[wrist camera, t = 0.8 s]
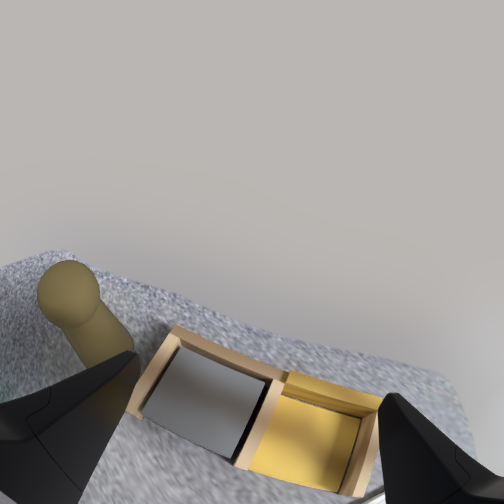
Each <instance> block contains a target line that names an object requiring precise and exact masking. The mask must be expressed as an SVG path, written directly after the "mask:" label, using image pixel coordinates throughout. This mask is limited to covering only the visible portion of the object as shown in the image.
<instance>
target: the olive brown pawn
mask: <svg viewBox="0 0 504 504" xmlns="http://www.w3.org/2000/svg"><path fill="white" fill-rule="evenodd" d="M37 300H38V304H39V307H40V310H41V311H42V313H43V314H44V316H45V317H46V318H47V319H48V320H49V322H51V323H53V324H54V325H56V326H58V327H60V328H62V330H63V332H64V334H65V335H66V337H67V339H68V340H69V342H70V344H71V345H72V347H73V348H74V350H75V352H76V353H77V355H78V356H79V358H80V359H81V361H82V362H83V364H84V365H85V366H86V368H87V369H88V368H90V367H92V366H94V365H97V364H99V363H101V362H103V361H105V360H107V359H109V358H111V357H113V356H115V355H117V354H119V353H121V352H124V351H126V350H131V351H134V344H133V339H132V337H131V335H130V334H129V332H128V331H127V330H126V328H125V327H124V326H123V325H122V324H121V323H120V322H119V320H118V319H117V318H116V317H115V316H114V315H113V313H112V312H111V311H110V310H109V309H108V307H107V306H106V305H105V304H104V302H103V301H102V300H101V299H100V289H99V284H98V282H97V280H96V278H95V275H94V273H93V272H92V271H91V270H90V269H89V268H88V267H87V266H86V265H85V264H83V263H80V262H77V261H75V260H65V261H61V262H58V263H57V264H55V265H53V266H51V267H50V268H49V269H48V270H47V271H46V272H45V273H44V275H43V276H42V277H41V279H40V282H39V284H38V290H37Z"/></svg>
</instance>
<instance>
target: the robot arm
mask: <svg viewBox="0 0 504 504" xmlns="http://www.w3.org/2000/svg"><path fill="white" fill-rule="evenodd" d="M139 375H140V360H139V354H138V353H137V352H134V351H131V350H126V351H124V352H121V353H119V354H117V355H115V356H113V357H111V358H109V359H107V360H105V361H103V362H101V363H99V364H97V365H94V366H92V367H90V368H88V369H86V370H84V371H82V372H80V373H77V374H75V375H73V376H71V377H69V378H67V379H65V380H62V381H60V382H58V383H56V384H54V385H52V386H49V387H47V388H44V389H42V390H40V391H37V392H35V393H32V394H30V395H27V396H24V397H21V398H17V399H14V400H11V401H7V402H4V403H0V504H78V502H79V500H80V498H81V496H82V494H83V493H82V492H84V489H85V487H86V485H87V483H88V481H89V479H90V477H91V475H92V473H93V471H94V469H95V467H96V465H97V463H98V461H99V459H100V458H101V456H102V454H103V452H104V450H105V448H106V446H107V444H108V442H109V440H110V438H111V436H112V434H113V433H114V431H115V429H116V427H117V425H118V423H119V421H120V419H121V418H122V416H123V414H124V412H125V410H126V408H127V406H128V403H129V401H130V398H131V395H132V393H133V390H134V388H135V385H136V383H137V380H138V378H139ZM377 414H378V433H379V449H380V456H381V464H382V472H383V481H384V490H385V502H386V504H504V477H500V476H498V475H495V474H494V473H492V472H491V471H490V470H488V469H487V468H485V467H484V466H483V465H481V464H480V463H478V462H477V461H476V460H474V459H473V458H472V457H470V456H469V455H468V454H467V453H465V452H464V451H463V450H462V449H461V448H460V447H458V446H457V445H455V443H454V442H453V441H452V440H450V439H449V438H448V437H447V436H446V435H445V434H444V433H443V432H441V431H440V430H439V429H438V428H437V427H436V426H435V425H434V424H433V423H431V422H430V421H429V420H428V419H427V418H426V417H425V416H424V415H422V414H421V413H420V412H419V411H418V410H417V409H416V408H415V407H414V406H412V405H411V404H410V403H409V402H408V401H407V400H406V399H405V398H404V397H402V396H401V395H400V394H399V393H388V394H387V395H386V396H385V398H384V400H383V401H382V403H381V404H380V406H379V408H378V412H377Z"/></svg>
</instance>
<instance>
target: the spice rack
mask: <svg viewBox="0 0 504 504" xmlns="http://www.w3.org/2000/svg"><path fill="white" fill-rule="evenodd" d="M263 387H264V388H267V389H268V390H267V392H266V395H265V397H264V399H263V402H262V404H261V406H260V409H259V411H258V413H257V415H256V418H255V420H254V422H253V424H252V426H251V429H250V431H249V433H248V435H247V437H246V439H245V441H244V444H243V446H242V448H241V450H240V452H239V454H238V456H237V458H236V460H235V462H234V464H233V466H234V467H237V468H240V469H242V470H245V471H247V470H248V469H249V470H252V471H255V472H257V473H260V474H264V475H267V476H270V477H273V478H277V479H280V480H284V481H287V482H291V483H295V484H299V485H303V486H307V487H312V488H317V489H322V490H327V491H332V492H338V489H339V487H340V484H341V482H342V479H343V476H344V473H345V470H346V467H347V464H348V461H349V458H350V455H351V452H352V449H353V446H354V442H355V439H356V435H357V432H358V428H359V424H360V421H361V419H359V418H355V417H351V416H347V415H343V414H339V413H336V412H332V411H329V410H325V409H322V408H319V407H315V406H312V405H309V404H306V403H303V402H300V401H297V400H294V399H291V398H288V397H285V396H282V395H281V394H284V395H286V396H289V397H292V398H295V399H298V400H301V401H304V402H307V403H310V404H314V405H317V406H320V407H323V408H327V409H330V410H334V411H337V412H341V413H344V414H348V415H352V416H356V417H360V418H362V421H361V425H360V429H359V432H358V436H357V439H356V443H355V446H354V449H353V453H352V456H351V459H350V462H349V465H348V468H347V471H346V474H345V477H344V479H343V482H342V485H341V487H340V490H339V493H338V495H345V496H352V497H362V498H363V496H364V493H365V491H366V488H367V485H368V482H369V479H370V476H371V473H372V469H373V466H374V463H375V459H376V456H377V452H378V448H379V433H378V414H377V412H378V408H379V406H380V404H381V403H382V398H381V397H377V396H373V395H370V394H366V393H362V392H359V391H355V390H352V389H348V388H345V387H342V386H338V385H335V384H332V383H329V382H325V381H322V380H319V379H316V378H313V377H310V376H307V375H304V374H301V373H299V372H296V371H293V370H290V372H289V373H288V372H285V371H283V370H280V369H277V368H275V367H272V366H269V365H267V364H264V363H262V362H259V361H257V360H254V359H252V358H249V357H247V356H244V355H242V354H239V353H237V352H235V351H232V350H230V349H228V348H225V347H223V346H221V345H218V344H216V343H214V342H212V341H209V340H207V339H205V338H203V337H201V336H199V335H196V334H194V333H192V332H190V331H188V330H186V329H184V328H182V327H180V326H178V325H176V324H175V325H174V327H173V328H172V330H171V331H170V333H169V334H168V336H167V337H166V339H165V341H164V342H163V344H162V345H161V347H160V348H159V350H158V351H157V353H156V354H155V356H154V357H153V359H152V360H151V362H150V363H149V365H148V367H147V368H146V370H145V371H144V373H143V374H142V376H141V377H140V379H139V381H138V382H137V384H136V385H135V388H134V390H133V393H132V395H131V398H130V401H129V403H128V406H127V408H126V411H127V412H129V413H130V414H132V415H133V416H135V417H136V418H138V419H139V420H142V419H143V417H144V416H145V417H146V418H148V419H149V420H151V421H153V422H154V423H156V424H158V425H160V426H161V427H163V428H165V429H167V430H169V431H171V432H172V433H174V434H176V435H178V436H180V437H182V438H184V439H186V440H188V441H190V442H192V443H194V444H196V445H199V446H201V447H203V448H205V449H207V450H210V451H212V452H214V453H216V454H219V455H221V456H224V457H226V458H229V459H230V458H231V456H232V454H233V452H234V450H235V448H236V446H237V444H238V442H239V440H240V438H241V435H242V433H243V431H244V429H245V427H246V425H247V423H248V421H249V418H250V416H251V414H252V412H253V410H254V407H255V405H256V403H257V401H258V398H259V396H260V394H261V392H262V389H263Z"/></svg>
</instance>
